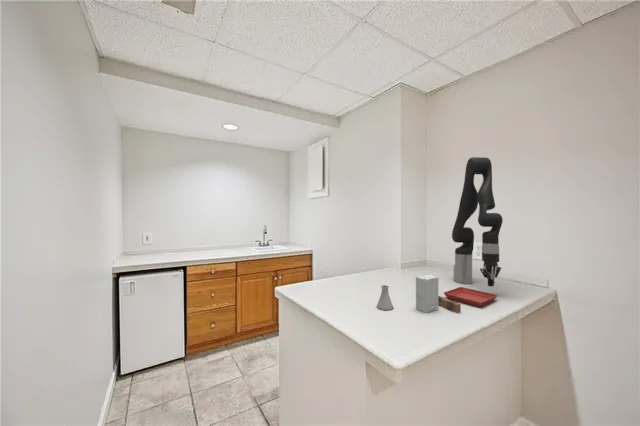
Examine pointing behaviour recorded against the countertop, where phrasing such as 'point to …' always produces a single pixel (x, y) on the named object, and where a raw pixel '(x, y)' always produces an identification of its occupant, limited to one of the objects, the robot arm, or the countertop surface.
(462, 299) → the plant saucer
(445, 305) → the bar
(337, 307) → the countertop surface
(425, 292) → the skincare box
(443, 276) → the countertop surface
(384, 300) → the flask
